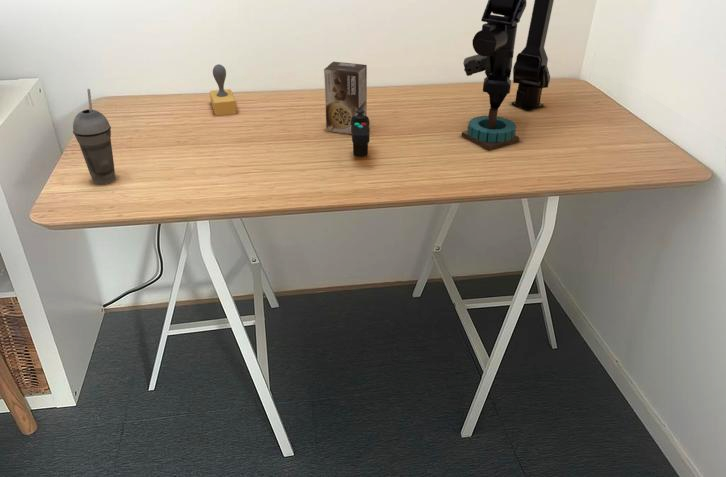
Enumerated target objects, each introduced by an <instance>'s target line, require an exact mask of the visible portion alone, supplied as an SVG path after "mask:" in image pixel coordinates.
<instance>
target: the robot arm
mask: <svg viewBox="0 0 726 477" xmlns="http://www.w3.org/2000/svg"><path fill="white" fill-rule="evenodd" d="M554 2H555V0H534V2H533V7H532V13H531V17H530V22H529V27H528V33H527V39H526V44H525V47H524V48H523V49H522V50H521V51H520V52H518V53H517V55H516V58H515V63H514V65H513V59H514V50H515V44H516V38H517V30H518V24H519V23H520V22H521V18H522V16H523V14H524V11H525V9H526V7H527V0H487V3H486V5H485V8H484V11H483V13H482V16H481V22H482V23H483V22H484V23H483V24H482V25H481V30H478V31H477V32H476V33H475V34H474V36H473V37H472V48H473V50H474V52H475V53H476V54H474V55H471V56H468V57H467V56H466V57H465V58H464V60H463V67H464V72H465V75H466V76H467V77H469V76H473V75H474V74H479V73H482V72H484V74H485V77H484V78H483V84H482V92H483V93H486V94H488V96H489V97H488V98H489V109H490V108H497V109H498V110H499V108H500V107H501V105H502V104H503V102H504V100H505V98H506V97H507V96H508V95H509V94H511V86H512V83H513V84H518V86H517V90H516V94H515V100H514V101H511V105H513V106H515V107H518V108H520V109H523V110H525V111H532V110H535V109H539V108H544V103H541V98H542V92H543V89H547V88H549V84H550V82H551V74H550V70H549V67H548V61H549V58H548V55H547V52H546V50H545V46H546V45H545V44H546V41H547V36H548V31H549V25H550V20H551V16H552V11H553V7H554ZM511 75H512V79H513V80H511V79H510V78H511Z"/></svg>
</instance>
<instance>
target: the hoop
mask: <svg viewBox="0 0 726 477" xmlns="http://www.w3.org/2000/svg"><path fill="white" fill-rule="evenodd" d="M488 118H489V115H479V116H475V117H473V118H471V119H470V120H469V121H468V126H467V130H468V134H469V135H470V136H471V137H472V138H475V139H477V140H478V139H479V140H480V141H484V142H486V141H488V142H493V143H496V142H497V143H498V142H504V141H505V142H506V141H509V140H511V139H513V138H514V136H515V135H516V130H517V125H516V123H515V122H514V121H513V120H511V119H509V118H505V117H502V116H498V115H497V121H496V130H494V129H487V126H488Z"/></svg>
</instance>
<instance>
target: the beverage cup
mask: <svg viewBox="0 0 726 477" xmlns="http://www.w3.org/2000/svg"><path fill="white" fill-rule="evenodd" d="M86 90H87V99H88V100H87V101H88V108H89V109H88V108H87V109H85V110H81V111H80V112H78V113H77V114H76V115H75V117H74V119H73V121H72V133H73V135H74V137H75V139H76V141H77V143H78V145H79V147H80V151H81V153H82V156H83V158H84V161H85V164H86V167H87V170H88V172H89V176H90V177H91V179H92V182H93V184H95V185H98V186H103V185H104V186H105V185H108V184H111V183H113V182H115V180H116V170H115V162H114V161H115V160H114V154H113V147H112V146H113V145H112V132H111V131H112V130H111V129H112V127H111V125H110V122H109V120H108V119H107V117H106V116H105V114H103V113H102V112H100V111H98V110H96V109H93V104H92V94H91V89H90V88H87V89H86Z"/></svg>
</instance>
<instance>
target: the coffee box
mask: <svg viewBox="0 0 726 477" xmlns="http://www.w3.org/2000/svg"><path fill="white" fill-rule="evenodd" d="M367 67H368V66H367V64H362V63H354V62H353V63H351V62H343V61H342V62H341V61H332V62H330V63H329V65H327V66H326V67H325V68H323V75H324V77H323V78H324V98H325V131H326V132H332V133H340V134H345V135H346V134H348V135H351V118H352V117H353V116H356V115H357V113H356V110H358V109H363V110H364V111H365V112H364V113H363V115H364V116H367V115H368V114H367V112H368V110H367V106H368V105H367V99H368V97H367V95H368V94H367V93H368V92H367V91H368V90H367V87H368V86H367V85H368V84H367V79H368V76H367V75H368V74H367V70H368V68H367ZM367 117H368V116H367Z"/></svg>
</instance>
